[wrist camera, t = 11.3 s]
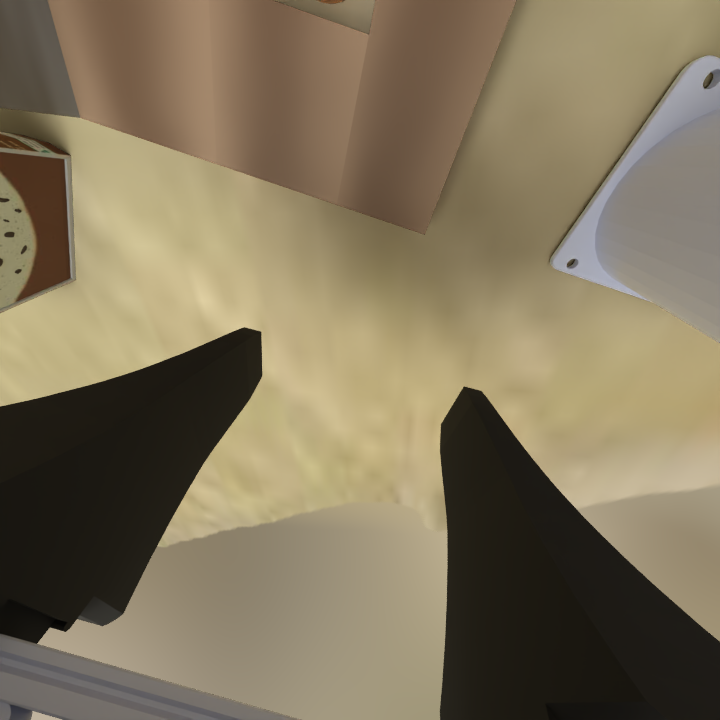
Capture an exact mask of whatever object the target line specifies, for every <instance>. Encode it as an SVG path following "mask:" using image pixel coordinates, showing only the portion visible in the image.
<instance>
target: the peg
mask: <svg viewBox="0 0 720 720" xmlns="http://www.w3.org/2000/svg"><path fill="white" fill-rule="evenodd" d="M318 1H320V2H323V3H329V4H331V3H339V2H342V1H344V0H318Z"/></svg>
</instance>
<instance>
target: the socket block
mask: <svg viewBox="0 0 720 720" xmlns="http://www.w3.org/2000/svg"><path fill="white" fill-rule="evenodd" d="M516 1H517V0H375V6H374V11H373V16H372V21H371V27H370V32H369V34H366V33H363V32H360V31H357V30H355V29H352V28H349V27H346V26H343V25H341V24H338V23H335V22H332V21H329V20H327V19H324V18H321V17H318V16H315V15H313V14H310V13H307V12H304V11H302V10H299V9H296V8H293V7H290V6H288V5H285V4H282V3H279V2H276V1H274V0H0V108H6V109H14V110H22V111H30V112H38V113H46V114H54V115H62V116H70V117H78V118H82V119H85V120H88V121H91V122H94V123H97V124H100V125H103V126H106V127H109V128H112V129H115V130H118V131H121V132H124V133H127V134H130V135H133V136H136V137H138V138H141V139H144V140H147V141H150V142H153V143H156V144H159V145H162V146H165V147H168V148H171V149H174V150H177V151H180V152H183V153H186V154H189V155H191V156H194V157H197V158H200V159H203V160H206V161H209V162H212V163H215V164H218V165H221V166H224V167H227V168H230V169H233V170H236V171H239V172H242V173H245V174H247V175H250V176H253V177H256V178H259V179H262V180H265V181H268V182H271V183H274V184H277V185H280V186H283V187H286V188H289V189H292V190H295V191H298V192H300V193H303V194H306V195H309V196H312V197H315V198H318V199H321V200H324V201H327V202H330V203H333V204H336V205H339V206H342V207H345V208H348V209H351V210H353V211H356V212H359V213H362V214H365V215H368V216H371V217H374V218H377V219H380V220H383V221H386V222H389V223H392V224H395V225H398V226H401V227H404V228H407V229H409V230H412V231H415V232H418V233H421V234H424V235H425V232H426V230H427V227H428V225H429V222H430V220H431V217H432V215H433V212H434V210H435V207H436V204H437V202H438V199H439V197H440V194H441V192H442V189H443V187H444V184H445V182H446V179H447V176H448V174H449V171H450V169H451V166H452V164H453V161H454V159H455V156H456V154H457V151H458V148H459V146H460V143H461V141H462V138H463V136H464V133H465V131H466V128H467V125H468V123H469V120H470V118H471V115H472V113H473V110H474V108H475V105H476V103H477V100H478V97H479V95H480V92H481V90H482V87H483V85H484V82H485V80H486V77H487V75H488V72H489V69H490V67H491V64H492V62H493V59H494V57H495V54H496V52H497V49H498V47H499V44H500V41H501V39H502V36H503V34H504V31H505V29H506V26H507V24H508V21H509V18H510V16H511V13H512V11H513V8H514V6H515V3H516Z"/></svg>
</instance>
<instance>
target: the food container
mask: <svg viewBox="0 0 720 720" xmlns="http://www.w3.org/2000/svg"><path fill="white" fill-rule="evenodd" d="M75 280H76V274H75V248H74V223H73V198H72V172H71V155H69V154H67V153H66V152H64V151H62V150H60V149H59V148H57V147H55V146H54V145H52V144H50V143H47V142H44V141H41V140H37V139H34V138H31V137H27V136H24V135H18V134H11V133H5V132H0V313H1V312H4V311H6V310H8V309H11V308H13V307H15V306H18V305H20V304H22V303H24V302H27V301H29V300H31V299H34V298H36V297H38V296H40V295H43V294H45V293H47V292H50V291H52V290H54V289H57V288H59V287H61V286H63V285H66V284H68V283H70V282H73V281H75Z"/></svg>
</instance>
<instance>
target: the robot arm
mask: <svg viewBox="0 0 720 720" xmlns="http://www.w3.org/2000/svg"><path fill="white" fill-rule="evenodd" d="M710 72H712V73H713V80H712V82H711V84H710V85H709V86H708V87H707V88H706V89H704V88H703V81H704V80H705V78H706V76H707V75H708V74H709V73H710ZM571 259H575V262H574V264H572V265H571V266H569V267H567V263H568V262H569V261H570V260H571ZM550 264H551V266H552V267H553V268H555V269H556V270H559V271H562V272H565V273H568V274H571V275H573V276H576V277H579V278H582V279H585V280H588V281H591V282H594V283H597V284H600V285H603V286H606V287H609V288H612V289H615V290H618V291H620V292H623V293H626V294H629V295H632V296H635V297H638V298H641V299H644V300H647V301H650V302H653V303H654V304H656V305H658V306H659V307H661V308H663V309H664V310H666V311H667V312H669V313H671V314H672V315H674V316H676V317H677V318H679V319H681V320H682V321H684V322H686V323H687V324H689V325H691V326H692V327H694V328H695V329H697V330H699V331H700V332H702V333H704V334H705V335H707V336H709V337H710V338H712V339H714V340H715V341H717V342H719V343H720V58H718V57H716V56H711V55H707V56H704V57H701V58H699V59H696V60H693V61H692V62H691V63H689V64H688V65H687V66H686V67H685V68H684V69H683V70H682V71H681V72H680V74H679V75H678V76H677V78H676V79H675V81H674V82H673V84H672V85H671V86H670V88H669V89H668V91H667V92H666V94H665V95H664V97H663V98H662V99H661V101H660V102H659V104H658V105H657V107H656V108H655V109H654V111H653V112H652V114H651V115H650V117H649V118H648V119H647V121H646V122H645V124H644V125H643V127H642V128H641V129H640V131H639V132H638V134H637V135H636V137H635V138H634V139H633V141H632V142H631V144H630V145H629V147H628V148H627V149H626V151H625V152H624V154H623V155H622V157H621V158H620V159H619V161H618V162H617V164H616V165H615V167H614V168H613V169H612V171H611V172H610V174H609V175H608V177H607V178H606V179H605V181H604V182H603V184H602V185H601V187H600V188H599V189H598V191H597V192H596V194H595V195H594V197H593V198H592V199H591V201H590V202H589V204H588V205H587V207H586V208H585V209H584V211H583V212H582V214H581V215H580V217H579V218H578V219H577V221H576V222H575V224H574V225H573V227H572V228H571V229H570V231H569V232H568V234H567V235H566V237H565V238H564V239H563V241H562V242H561V244H560V245H559V247H558V248H557V249H556V251H555V252H554V254H553V255H552V257H551V259H550ZM261 377H262V345H261V332H260V331H256V330H252V329H249V328H245V327H244V328H241V329H239V330H236V331H234V332H231V333H229V334H227V335H224V336H222V337H220V338H217V339H215V340H213V341H211V342H208V343H206V344H204V345H201V346H199V347H197V348H194V349H192V350H190V351H187V352H185V353H183V354H180V355H177V356H175V357H172V358H170V359H167V360H164V361H162V362H159V363H157V364H154V365H151V366H149V367H146V368H143V369H140V370H137V371H134V372H131V373H128V374H125V375H122V376H119V377H116V378H112V379H109V380H106V381H103V382H99V383H96V384H92V385H89V386H85V387H81V388H77V389H73V390H69V391H65V392H61V393H57V394H53V395H50V396H46V397H42V398H38V399H33V400H29V401H24V402H20V403H15V404H10V405H6V406H1V407H0V720H31V717H32V711H35V712H39V713H42V714H45V715H49V716H52V717H56V718H59V719H63V720H301V719H297V718H293V717H290V716H287V715H283V714H280V713H276V712H273V711H269V710H266V709H262V708H259V707H255V706H252V705H248V704H245V703H241V702H238V701H234V700H231V699H227V698H224V697H220V696H217V695H213V694H210V693H206V692H203V691H199V690H196V689H192V688H189V687H185V686H182V685H178V684H175V683H172V682H168V681H164V680H161V679H158V678H154V677H150V676H147V675H144V674H140V673H136V672H133V671H130V670H126V669H122V668H119V667H116V666H112V665H108V664H105V663H102V662H98V661H95V660H91V659H88V658H84V657H81V656H77V655H74V654H70V653H67V652H63V651H59V650H56V649H53V648H49V647H46V646H42V645H39V644H37V643H38V642H39V640H40V639H41V638H42V637H43V635H44V634H45V633H46V631H47V630H48V629H49V628H50V627H51V628H54V629H58V630H61V631H65V632H66V631H67V630H68V629H70V627H71V626H72V625H73V624H74V622H75V621H76V619H79V620H83V621H86V622H90V623H94V624H97V625H100V626H104V625H107V624H109V623H110V622H112V621H114V620H115V619H117V618H118V617H120V616H121V615H122V614H123V613H124V611H125V609H126V607H127V605H128V603H129V601H130V599H131V597H132V595H133V592H134V590H135V588H136V586H137V584H138V582H139V580H140V578H141V576H142V574H143V572H144V570H145V568H146V566H147V564H148V562H149V560H150V558H151V556H152V554H153V553H154V551H155V549H156V547H157V545H158V543H159V541H160V539H161V538H162V536H163V534H164V532H165V530H166V528H167V526H168V524H169V522H170V521H171V519H172V517H173V515H174V514H175V512H176V510H177V508H178V506H179V505H180V503H181V501H182V499H183V498H184V496H185V494H186V492H187V490H188V489H189V487H190V485H191V484H192V482H193V480H194V479H195V477H196V475H197V474H198V472H199V470H200V468H201V467H202V465H203V463H204V462H205V460H206V459H207V458H208V456H209V455H210V453H211V452H212V450H213V449H214V447H215V446H216V445H217V443H218V442H219V441H220V439H221V438H222V437H223V435H224V434H225V432H226V431H227V430H228V428H229V427H230V426H231V424H232V423H233V422H234V420H235V419H236V417H237V416H238V415H239V413H240V412H241V411H242V409H243V408H244V406H245V405H246V404H247V402H248V401H249V399H250V398H251V396H252V394H253V392H254V390H255V389H256V387H257V385H258V383H259V381H260V379H261ZM440 455H441V466H442V476H443V486H444V495H445V505H446V515H447V531H448V572H447V573H448V574H447V612H446V635H445V636H446V637H445V652H444V668H443V683H442V694H441V706H440V720H720V642H719V641H718V640H717V639H716V638H714V637H713V636H712V635H711V634H710V633H708V632H707V631H706V630H705V629H703V628H702V627H701V626H700V625H699V624H698V623H697V622H695V621H694V620H693V619H692V618H691V617H690V616H689V615H687V614H686V613H685V612H684V611H683V610H682V609H681V608H679V607H678V606H677V605H676V604H675V603H674V602H673V601H672V600H670V599H669V598H668V597H667V596H666V595H665V594H664V593H662V592H661V591H660V590H659V589H658V588H657V587H656V586H655V585H653V584H652V583H651V582H650V581H649V580H648V579H647V578H646V577H645V576H644V575H643V574H642V573H640V572H639V571H638V570H637V569H636V568H635V567H634V566H633V565H632V564H631V563H630V562H629V561H627V559H625V558H624V557H623V556H622V555H621V554H620V553H619V552H618V551H617V550H616V549H615V548H614V547H613V546H612V545H611V544H610V543H609V542H608V541H607V540H606V539H605V538H604V537H603V536H602V535H601V534H600V533H599V532H598V531H597V530H596V529H595V528H594V527H593V526H592V525H591V524H590V523H589V522H588V521H587V520H586V519H585V518H584V517H583V516H582V515H581V514H580V513H579V512H578V510H577V509H576V508H575V507H574V506H573V505H572V504H571V503H570V502H569V501H568V500H567V499H566V498H565V496H564V495H563V494H562V493H561V492H560V491H559V490H558V489H557V488H556V486H555V485H554V484H553V483H552V482H551V481H550V479H549V478H548V477H547V476H546V475H545V473H544V472H543V471H542V470H541V469H540V467H539V466H538V465H537V464H536V463H535V461H534V460H533V459H532V458H531V456H530V455H529V454H528V452H527V451H526V450H525V449H524V447H523V446H522V445H521V443H520V442H519V441H518V439H517V438H516V437H515V436H514V434H513V433H512V431H511V430H510V429H509V427H508V426H507V425H506V423H505V422H504V421H503V419H502V418H501V416H500V415H499V414H498V412H497V411H496V410H495V408H494V407H493V405H492V404H491V403H490V401H489V400H488V399H487V397H486V396H485V395H484V394H483V392H482V391H479V390H475V389H472V388H468V387H463V389H462V391H461V392H460V394H459V396H458V397H457V399H456V401H455V402H454V404H453V406H452V407H451V409H450V410H449V412H448V414H447V415H446V417H445V419H444V420H443V422H442V424H441V437H440Z"/></svg>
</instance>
